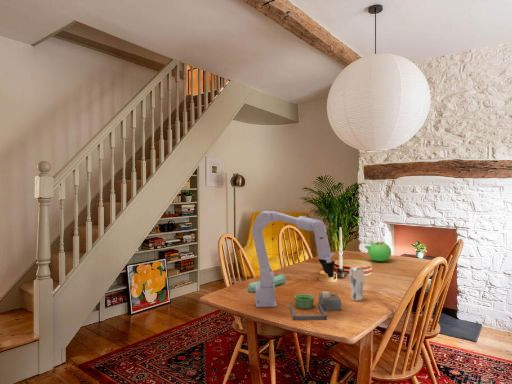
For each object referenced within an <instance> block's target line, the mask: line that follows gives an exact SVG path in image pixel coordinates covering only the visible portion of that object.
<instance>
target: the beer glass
mask: <svg viewBox="0 0 512 384" xmlns="http://www.w3.org/2000/svg"><path fill="white" fill-rule="evenodd" d="M348 277H349V286H350V291H351V292H350V300H352V301H356V302H361V301H364V296H363V291H364V290H363V289H364V282H365V272H364V267H361V266H351V267H349V273H348Z"/></svg>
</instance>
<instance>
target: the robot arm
mask: <svg viewBox="0 0 512 384" xmlns="http://www.w3.org/2000/svg"><path fill="white" fill-rule="evenodd" d="M278 221H280V222H284V223H288V224H293V225H296V227H297V229H301V230H305V231H308V232H312V231H313V233H314V239H315V245H316V249H317V254H318V259H317V260H318V262H319V263H320V264H321V266H322V270H323V271H324V274H327V277H328V278H334V275H335V274H334V269H335V263H336V262H335V260H332V259H331V258H332V257H333V256H335V253H332V251H331V247H330V243H329V238H328V235H327V230H326V229H327V226H326V224H325V223H324V222H323V221H322V220H320V219H317V218H310V217H307V216H306V215H303V216H302V215H299V216H298V217H296V216H291V215H289V214H285V213H282V212H280V211H279V212H278V211H274V210H273V211H272V210H271V211H270V210H263V211H261V212H260V213H259V214H258V215H257V216H256V217H255V220H254V223H253V226H252V227H251V233H252V238H253V243H254V247H255V252H256V257H257V262H258V265H259V276H260V277H259V281H260V285H259V286H256V292H255V298H254V302H255V308H272V307H273V308H277V303H276V286H275V284H274V283H273V279H274V277H275V273H274V271H273V270H272V268H271V267H272V266H271V264H270V261H269V257H268V253H267V248H266V243H265V238H264V234H263V231H264V230H265V228H266V227H267V226H268V225H270V223H271V222H272V223H274V222H278Z"/></svg>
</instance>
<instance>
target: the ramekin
mask: <svg viewBox="0 0 512 384" xmlns="http://www.w3.org/2000/svg"><path fill="white" fill-rule="evenodd" d="M314 300H315V296H313V295H312V294H307V293H302V294H301V293H300V294H299V293H298V294H296V295H294V303H295V307H296V308H298V309H301V310H308V309H309V310H310V309H312V308H313V307H314V302H315V301H314Z"/></svg>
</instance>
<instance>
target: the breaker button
mask: <svg viewBox="0 0 512 384" xmlns="http://www.w3.org/2000/svg"><path fill="white" fill-rule="evenodd" d="M321 293H322V297H323V298H330V291H322V292H321Z"/></svg>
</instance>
